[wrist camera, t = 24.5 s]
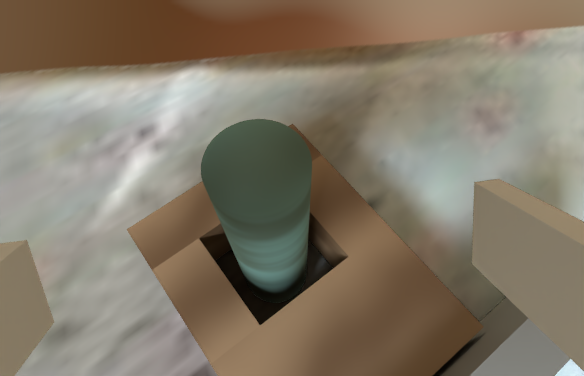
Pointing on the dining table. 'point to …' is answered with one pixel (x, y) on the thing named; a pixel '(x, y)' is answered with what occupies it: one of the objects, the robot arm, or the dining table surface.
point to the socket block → (310, 292)
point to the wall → (506, 348)
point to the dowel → (263, 202)
